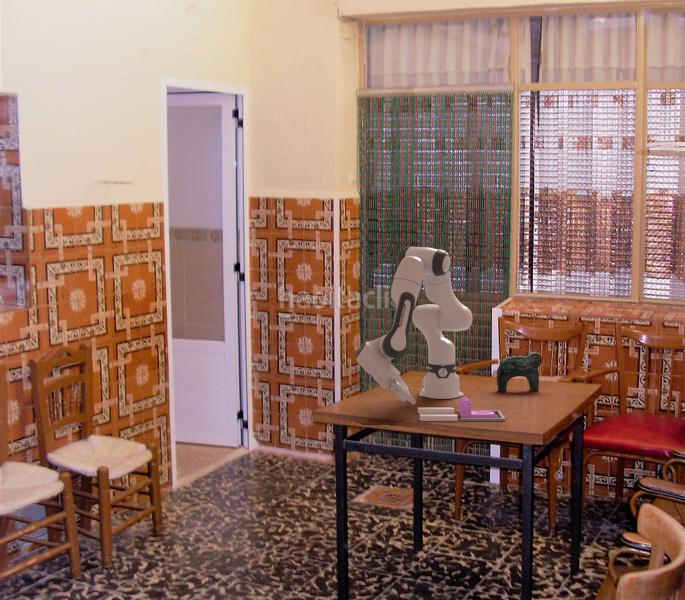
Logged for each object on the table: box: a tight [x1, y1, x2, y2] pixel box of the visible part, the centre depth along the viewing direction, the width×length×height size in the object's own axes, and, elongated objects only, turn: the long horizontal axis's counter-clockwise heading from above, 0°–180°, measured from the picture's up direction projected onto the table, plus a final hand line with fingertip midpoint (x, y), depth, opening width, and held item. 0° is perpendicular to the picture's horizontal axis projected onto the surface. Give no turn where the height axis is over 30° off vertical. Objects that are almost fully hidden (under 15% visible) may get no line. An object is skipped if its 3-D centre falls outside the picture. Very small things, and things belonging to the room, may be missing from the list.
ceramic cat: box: [496, 344, 543, 393], centre depth 427 cm, size 20×6×20 cm, turn 97°
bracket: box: [459, 396, 496, 418], centre depth 378 cm, size 13×6×7 cm, turn 89°
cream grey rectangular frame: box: [417, 407, 506, 422], centre depth 376 cm, size 15×32×2 cm, turn 89°
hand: (414, 402), depth 376 cm, fingers closed
